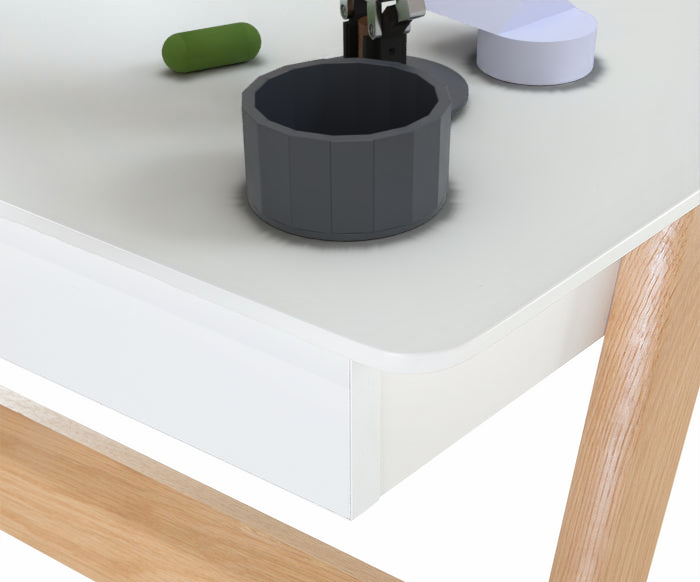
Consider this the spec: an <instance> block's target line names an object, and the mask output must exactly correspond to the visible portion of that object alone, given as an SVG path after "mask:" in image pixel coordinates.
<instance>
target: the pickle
mask: <svg viewBox="0 0 700 582" xmlns="http://www.w3.org/2000/svg"><path fill="white" fill-rule="evenodd" d="M261 36H262V35H261V33H260V31H259V30H258V29H257V28H256V26H254V25H252V24H251V23H249V22H244V21H239V22H238V21H237V22H233V23H228V24H227V23H226V24H222V25H216V26H210V27H204V28H198V29H191V30H187V31H181V32H176V33H173V34H171V35H169V36H168V37H167V38H166V39H165V40H164V42H163V44H162V47H161V57H162V60H163V63H164V64H165V65H166V66H167V67H168V69H170V70H171V71H173V72H175V73H179V74H185V73H190V72H196V71H202V70H207V69H213V68H218V67H224V66H228V65H233V64H239V63H245V62H248V61H251V60H253V59H254V58H256V57H257V55H258V54H259V53H260V50H261V48H262V37H261Z"/></svg>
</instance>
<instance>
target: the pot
mask: <svg viewBox="0 0 700 582" xmlns="http://www.w3.org/2000/svg"><path fill="white" fill-rule="evenodd" d="M330 58H331V59H329V58H317V59H311V60H306V61H302V62H296V63H292V64H286V65H283V66H281V67H278V68H276V69H273V70H271V71H269V72H266V73H264V74H261V75H258V77H256V78H255V79H254V80H253V81H252V82H251V83H250V84H249V85H248V86H246V88H245V89H244V90H242V92H241V107H240V109H241V123H242V137H243V153H244V169H245V171H244V172H245V185H246V187H245V188H246V197H247V200H248V203H249V206H250V208H251V210H252V211H253V212H254V213H255V214H256V216H258V218H260V219H261V220H262V221H264V223H267V224H268V225H270V226H272V227H274V228H276V229H278V230H281V231H283V232H286V233H289V234H292V235H296V236H299V237H304V238H309V239H316V240H323V241H334V242H337V241H338V242H348V241H349V242H355V241H368V240H375V239H381V238H387V237H391V236H395V235H398V234H402V233H405V232H408V231H411V230H413V229H415V228H417V227H419V226H421V225H423V224H425V223H427V222H428V221H430V220H431V219H432V218H433V217H434V216H436V215H437V214H438V213H439V211H440V210H441V209H442V208H443V206H444V204H445V202H446V199H447V193H448V191H449V180H450V179H449V178H450V177H449V175H450V151H451V150H450V149H451V128H452V126H451V125H452V117H451V104H452V102H451V99H450V95H449V92H448V89H447V86H446V85H445V84H444V83H443V82H441V81H440V80H438V79H437V78H435V77H434V76H433V75H431V74H430V73H428V72H427V71H424V70H421V69H418V68H414V67H411V66H408V65H405V64H402V63H399V62H392V61H383V60H375V59H367V58H333V57H330Z"/></svg>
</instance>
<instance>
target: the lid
mask: <svg viewBox="0 0 700 582" xmlns="http://www.w3.org/2000/svg"><path fill="white" fill-rule="evenodd" d="M365 35H369V33H368V16H364V17H362V18H360V19H359V20H358V58H363V36H365ZM331 58H343V55H340V56H333V57H328V59H331ZM406 65H408V66H411V67H414V68H418V69H421V70H424V71H427V72H428V73H430V74H431V75H433V76H434V77H435V78H437V79H438V80H440V81H441V82H443V83H444V84H445V85H446V86H447V89H448V92H449V95H450V99H451V102H452V104H451V118H452V117H454V116H456V115H457V114H458V113H460V112H461V111H462V110H463V109H464V108H465V107H466V105H467V103H468V101H469V95H470V94H469V93H470V90H469V88H470V87H469V84H468V82H467V80H466V78H464V77H463V76H462V75H461V74H460V73H459V72H457V71H456V70H454V69H453V68H451V67H449V66H447V65H445V64H443V63H440V62H437V61H434V60H430V59H427V58H423V57H418V56H412V55H407V57H406Z"/></svg>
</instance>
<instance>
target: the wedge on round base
mask: <svg viewBox="0 0 700 582" xmlns="http://www.w3.org/2000/svg"><path fill="white" fill-rule="evenodd" d="M424 1H425V7H426V11H428V12H431V13H434V14H436V15H440V16H442V17H444V18H447V19H451V20H454V21H456V22H459V23H462V24H465V25H468V26H470V27H473V28H475V29H477V42H476V43H477V45H476V66H477V68H479V69H480V71H481V72H482V73H484V74H486V75H488V76H489V77H492V78H494V79H497V80H500V81H503V82H507V83H511V84H517V85H526V86H527V85H528V86H554V85H563V84H567V83H572V82H575V81H578V80H580V79H583V78H585V77H587V76H588V75H589V74H590V73H591V72H592V71H593V68H594V63H595V61H594V60H595V50H596V41H597V32H598V20H597V18H596V17H595V16H594V15H593V14H592V13H590V12H588V11H587V10H584V9H582V8H580V7H577V6H575V4H573V3H572V2H571V1H570V0H424Z"/></svg>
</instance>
